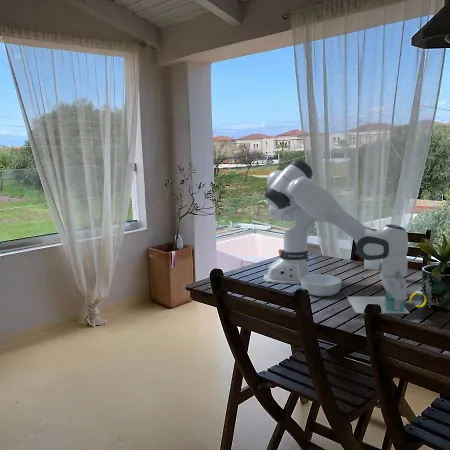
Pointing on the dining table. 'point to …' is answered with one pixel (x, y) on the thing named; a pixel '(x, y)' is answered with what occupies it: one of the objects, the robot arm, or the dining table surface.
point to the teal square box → (392, 303)
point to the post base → (361, 303)
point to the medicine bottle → (372, 264)
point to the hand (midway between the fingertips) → (393, 304)
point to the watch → (418, 294)
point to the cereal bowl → (321, 284)
